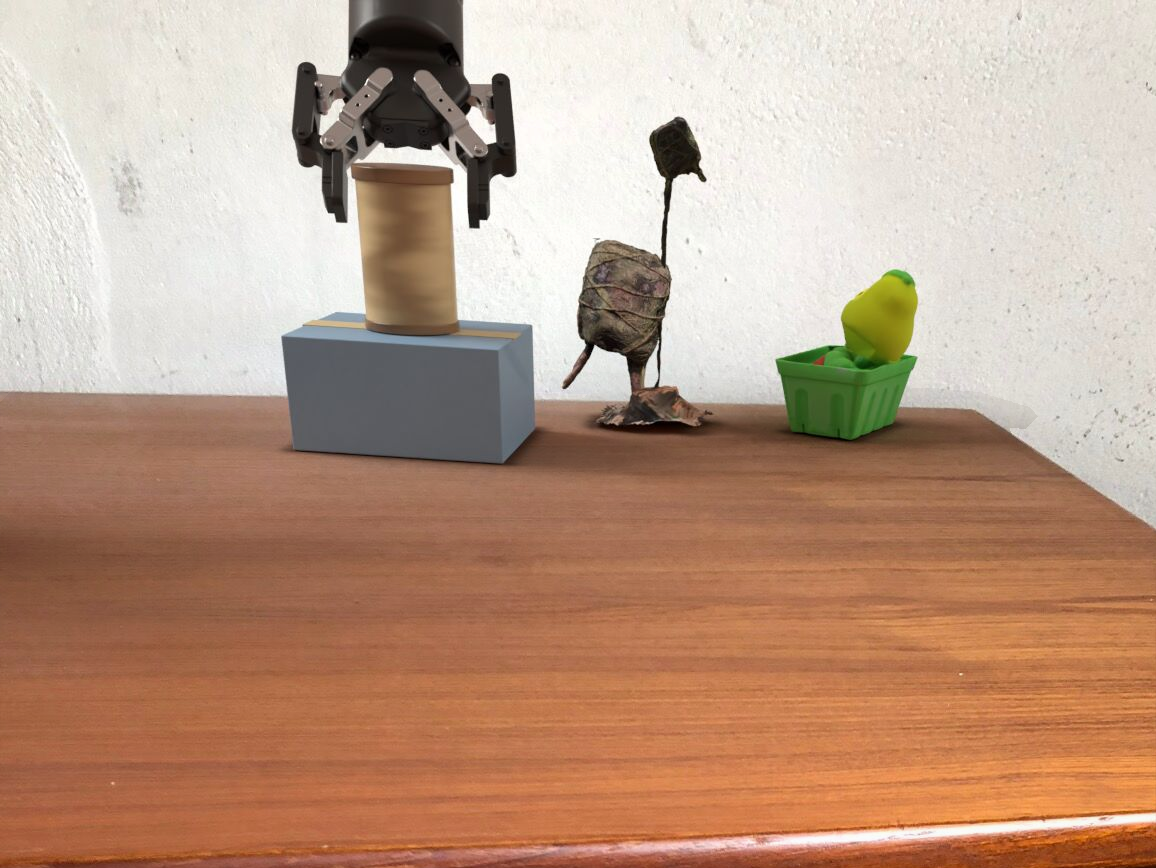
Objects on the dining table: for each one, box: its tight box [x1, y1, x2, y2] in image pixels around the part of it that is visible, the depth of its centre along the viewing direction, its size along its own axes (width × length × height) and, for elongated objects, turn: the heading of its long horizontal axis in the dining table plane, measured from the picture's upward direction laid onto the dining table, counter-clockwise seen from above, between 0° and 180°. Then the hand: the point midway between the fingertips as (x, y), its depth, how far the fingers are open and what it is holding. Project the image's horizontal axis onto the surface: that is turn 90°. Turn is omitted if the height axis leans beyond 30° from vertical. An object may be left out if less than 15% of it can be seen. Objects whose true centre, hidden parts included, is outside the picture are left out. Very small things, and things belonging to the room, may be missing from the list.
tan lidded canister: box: [350, 162, 460, 336], centre depth 98 cm, size 6×6×10 cm
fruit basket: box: [775, 268, 919, 441], centre depth 113 cm, size 11×9×11 cm
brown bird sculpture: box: [561, 115, 715, 427], centre depth 108 cm, size 8×11×20 cm
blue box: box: [280, 311, 536, 465], centre depth 103 cm, size 14×12×7 cm
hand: (406, 216), depth 98 cm, fingers open, 8 cm apart
